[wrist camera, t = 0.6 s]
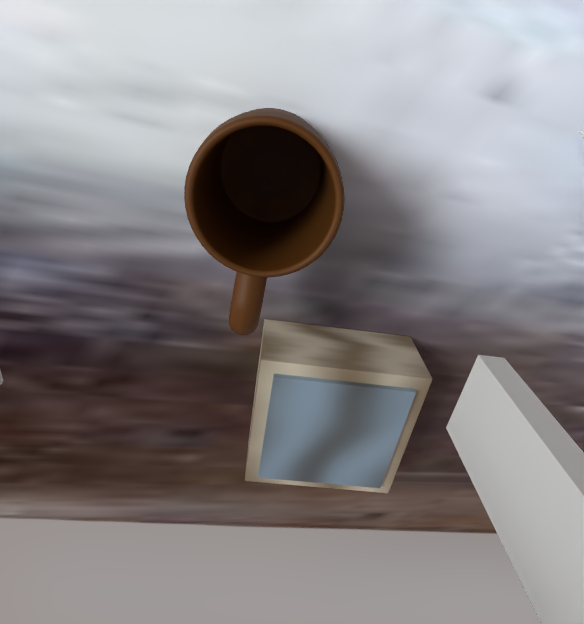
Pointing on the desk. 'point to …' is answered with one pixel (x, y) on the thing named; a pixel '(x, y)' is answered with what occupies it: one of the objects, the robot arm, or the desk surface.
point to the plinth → (333, 406)
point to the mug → (263, 202)
